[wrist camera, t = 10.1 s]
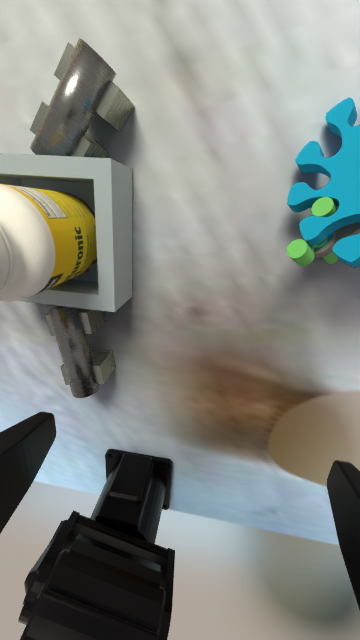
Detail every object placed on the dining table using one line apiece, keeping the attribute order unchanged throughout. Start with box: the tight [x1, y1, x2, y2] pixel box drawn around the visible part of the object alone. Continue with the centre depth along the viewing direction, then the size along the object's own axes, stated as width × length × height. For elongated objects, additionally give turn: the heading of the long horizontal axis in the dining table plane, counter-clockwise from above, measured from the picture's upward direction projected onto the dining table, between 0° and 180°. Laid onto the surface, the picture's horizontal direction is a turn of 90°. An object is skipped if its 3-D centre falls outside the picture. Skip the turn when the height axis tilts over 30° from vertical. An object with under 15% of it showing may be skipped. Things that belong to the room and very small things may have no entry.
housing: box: [0, 153, 132, 312], centre depth 18 cm, size 8×8×4 cm
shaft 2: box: [45, 305, 116, 398], centre depth 21 cm, size 7×3×4 cm, turn 6°
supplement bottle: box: [0, 184, 97, 301], centre depth 15 cm, size 5×5×10 cm
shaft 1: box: [30, 38, 134, 158], centre depth 15 cm, size 6×3×4 cm, turn 141°
